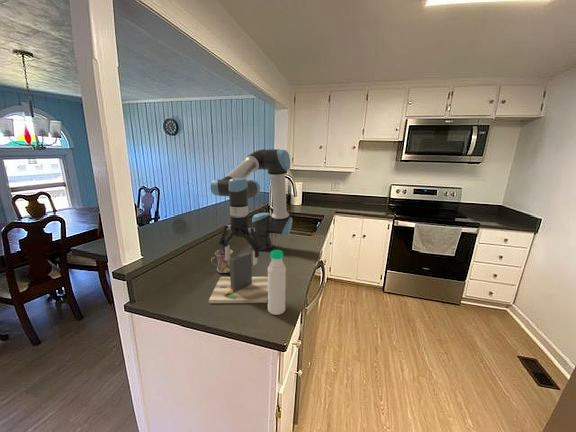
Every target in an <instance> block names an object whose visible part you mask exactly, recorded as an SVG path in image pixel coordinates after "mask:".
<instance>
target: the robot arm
mask: <svg viewBox="0 0 576 432" xmlns="http://www.w3.org/2000/svg"><path fill="white" fill-rule="evenodd" d="M290 169H291V157H290V154H289V152H288V151H287V150H286V149H281V148H280V149H279V148H278V149H276V148H275V149H274V148H273V149H270V148H269V149H265V148H264V149H259V150H256V151H253V152H252V153H250V154H248V155H246V156H245V157H244V158H243V161H242V162H241V163H240V164H238V165H237V166H236V167H235V168H234V169H232V170H231V171H230V172H228V174H227V175H225V176H224V177H222V178H221V179H219V178H218V179H213V180H212V181H211V182H210V185H209V186H210V187H209V188H210V192H211V193H212V195H214V196H218V197H228V198H229V215H230V223H228V224H225V225H224V227H223V228H224V230H223V232H222V235H221V238H220V239H219V241H218V244H219V245H221V246H223V247H222V249H224V253H225V259H226V261H227V260H229V259H230V249H231V248H230V243H231V241H232V240H233V239H234V238H235V237H237V238H238V237H240V238H243V239H245V240H246V241H247V243H248V244H249V246H250V249H252V265H253V266H256V265H257V264H258V258H259V256H260V251H268V250H270V249H272V248H273V241H272V237H271V235H272V234H274V235H282V236H283V235H287V236H288V235H289V234H290V232H291V229H292V226H293V218H292V217H290V213H289V212H288V211H287V208H288V207H287V192H286V191H287V189H286V188H287V187H286V185H287V184H286V175H287V174H288V171H289V170H290ZM258 170H260V171H263V170H266V171H267V173H268V175H269V176H270V185H271V195H272V196H271V199H272V200H271V201H272V210H273V211H272V213H271V214H270V212H259V213H255V214H254V215H253V216H252V219H251V220H252V221H251V222H252V225H251V226H252V227H250V226H249V223H250V222H249V199H251V198H254V197H256V196H258V195H259V194H260V191H261V186H260V183H259V182H258V181H257V180H253V179H249V180H247V178H248V177H249V176H250V175H251V174H252V173H255V172H257V171H258ZM230 231H231V233H230V234H229V232H230ZM228 234H229V236H228Z"/></svg>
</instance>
